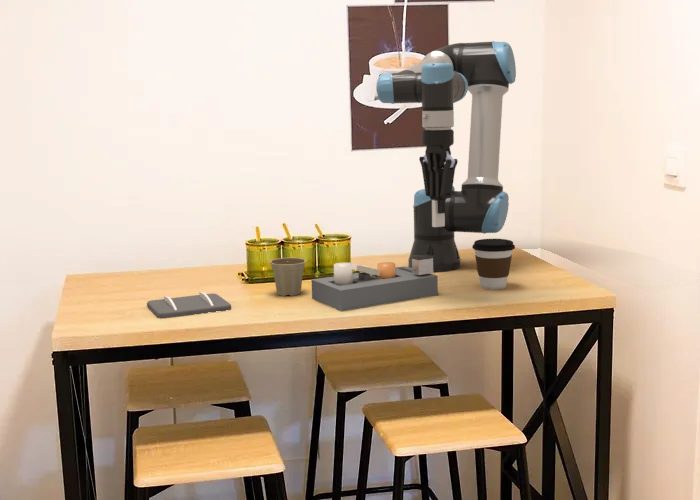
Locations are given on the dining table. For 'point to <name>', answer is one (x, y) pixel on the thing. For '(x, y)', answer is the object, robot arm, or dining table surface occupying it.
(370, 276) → the console
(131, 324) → the dining table surface
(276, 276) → the flower pot
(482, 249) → the coffee cup
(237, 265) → the dining table surface
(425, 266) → the fader
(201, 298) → the grey flat slab
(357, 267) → the rocker
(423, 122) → the robot arm
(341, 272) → the button white
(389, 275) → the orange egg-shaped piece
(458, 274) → the dining table surface
